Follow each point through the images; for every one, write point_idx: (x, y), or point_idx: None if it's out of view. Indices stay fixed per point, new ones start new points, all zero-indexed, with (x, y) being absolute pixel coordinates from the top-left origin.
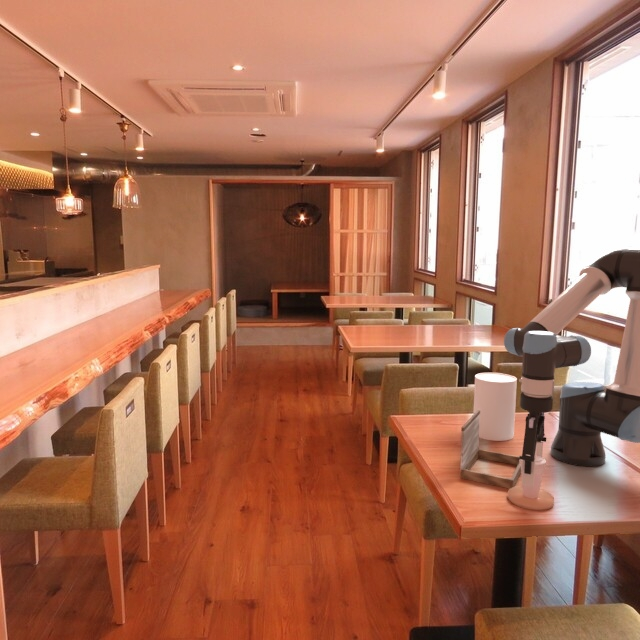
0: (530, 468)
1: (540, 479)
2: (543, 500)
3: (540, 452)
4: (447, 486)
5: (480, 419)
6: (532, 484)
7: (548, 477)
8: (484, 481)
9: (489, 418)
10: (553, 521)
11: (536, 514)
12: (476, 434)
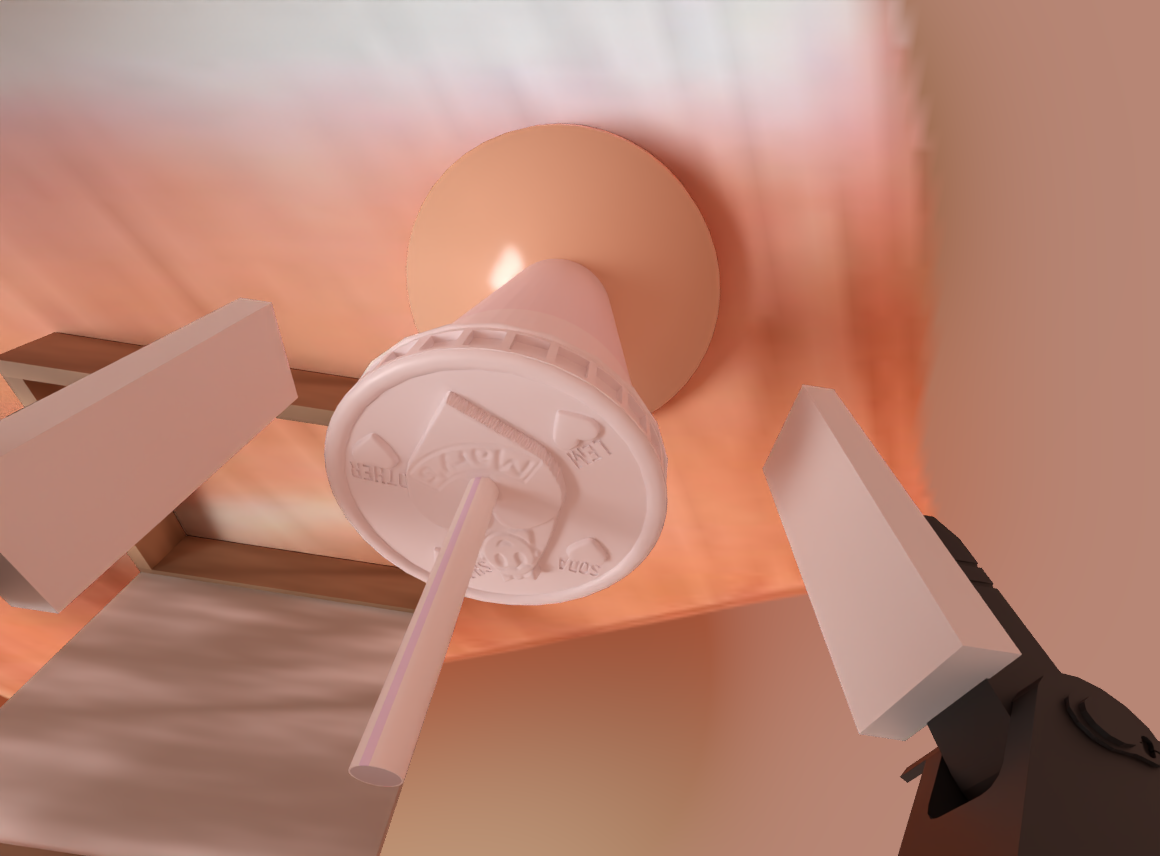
0: (992, 591)
1: (586, 311)
2: (611, 219)
3: (139, 403)
4: (575, 617)
5: None
6: (839, 408)
7: (92, 161)
8: None
9: None
10: (877, 132)
11: (775, 260)
12: (103, 679)
